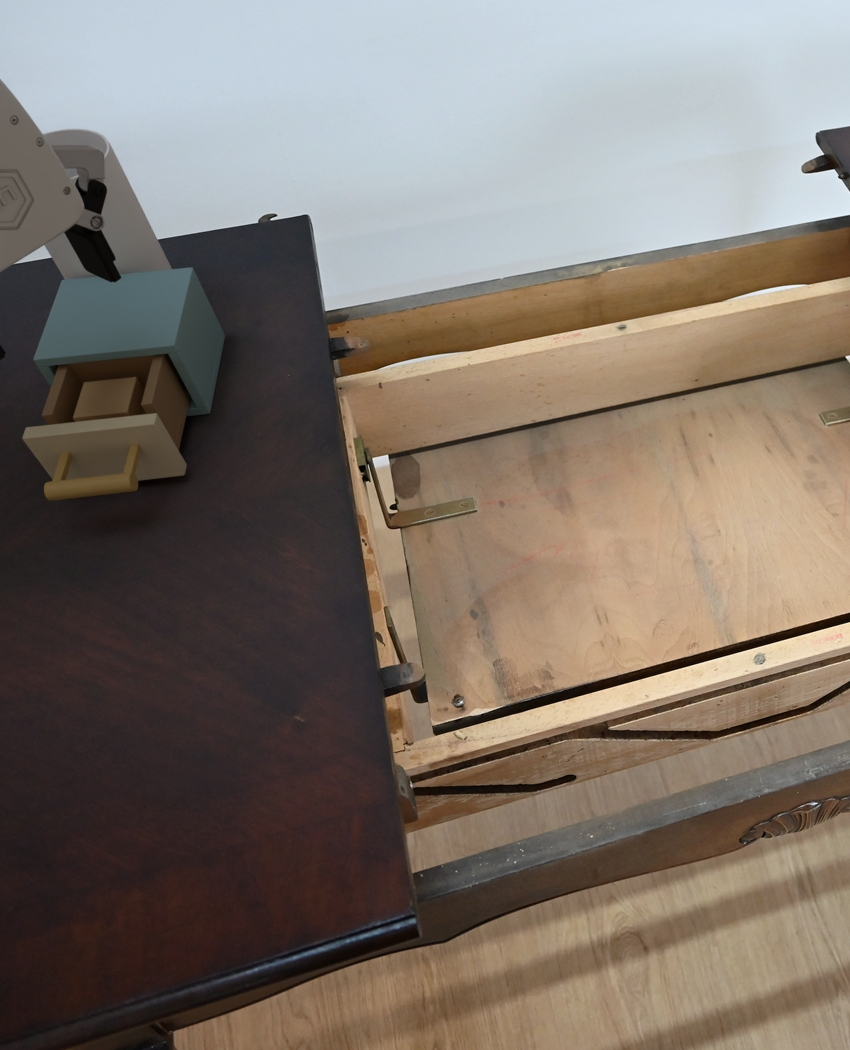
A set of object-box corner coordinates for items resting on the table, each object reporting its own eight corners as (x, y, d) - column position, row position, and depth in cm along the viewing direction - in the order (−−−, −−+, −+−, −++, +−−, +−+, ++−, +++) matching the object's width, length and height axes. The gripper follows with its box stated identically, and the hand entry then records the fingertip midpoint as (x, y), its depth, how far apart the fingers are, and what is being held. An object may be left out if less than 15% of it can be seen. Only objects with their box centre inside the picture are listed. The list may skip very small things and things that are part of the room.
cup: (74, 334, 93) (-23, 177, 81) (127, 279, 98) (42, 122, 86) (155, 349, 92) (69, 191, 79) (204, 291, 97) (130, 135, 84)
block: (96, 453, 81) (72, 418, 78) (106, 417, 84) (83, 381, 81) (149, 447, 82) (127, 412, 79) (157, 412, 84) (136, 376, 81)
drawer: (176, 517, 79) (144, 466, 74) (47, 532, 78) (6, 482, 73) (200, 397, 87) (173, 344, 82) (84, 409, 86) (49, 357, 81)
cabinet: (210, 414, 87) (174, 345, 81) (78, 428, 86) (32, 360, 80) (225, 335, 93) (192, 266, 87) (102, 348, 92) (61, 279, 86)
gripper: (-203, 171, 54) (-25, 406, 67) (72, 34, 63) (181, 263, 77) (-285, 132, 56) (-97, 366, 70) (-8, 5, 66) (111, 233, 79)
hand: (48, 312), depth 73 cm, fingers open, 9 cm apart
